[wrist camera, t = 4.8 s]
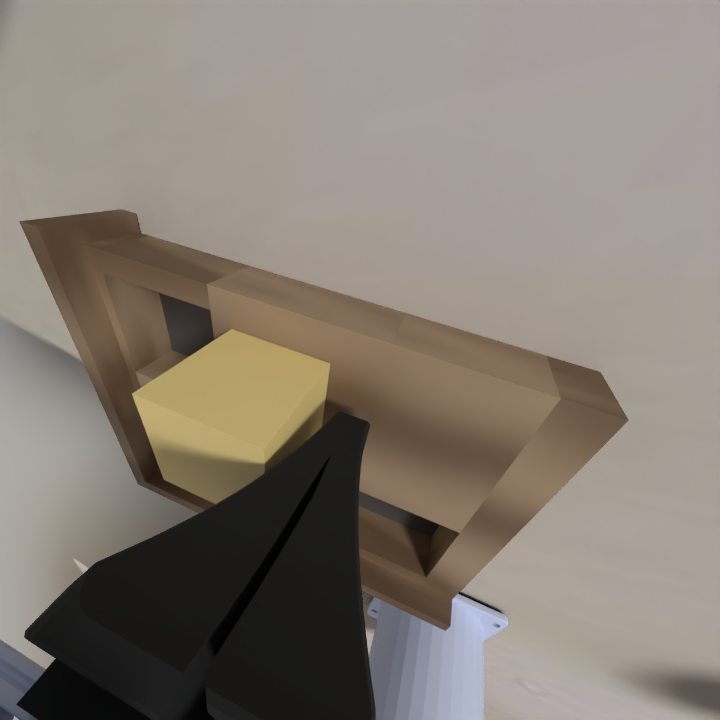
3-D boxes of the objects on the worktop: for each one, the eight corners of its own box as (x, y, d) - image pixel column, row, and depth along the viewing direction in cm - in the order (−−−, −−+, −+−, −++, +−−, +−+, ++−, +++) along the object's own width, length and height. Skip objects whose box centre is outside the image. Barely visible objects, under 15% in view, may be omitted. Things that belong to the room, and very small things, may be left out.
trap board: (450, 559, 19) (445, 630, 16) (182, 442, 22) (138, 484, 19) (616, 353, 10) (673, 431, 7) (121, 209, 13) (19, 221, 10)
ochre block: (320, 438, 13) (266, 528, 10) (238, 405, 14) (163, 479, 10) (330, 363, 11) (263, 449, 7) (231, 328, 11) (132, 393, 8)
